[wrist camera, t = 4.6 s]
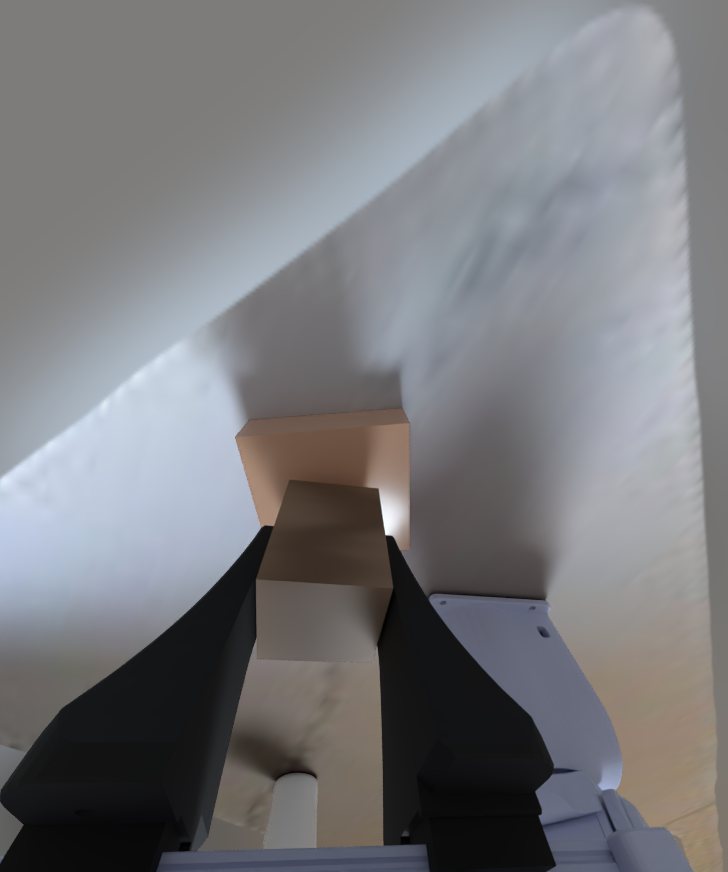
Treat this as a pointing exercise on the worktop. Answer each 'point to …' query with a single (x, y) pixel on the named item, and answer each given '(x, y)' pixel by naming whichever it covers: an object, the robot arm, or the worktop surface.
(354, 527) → the walnut block
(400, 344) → the worktop surface
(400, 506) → the terracotta tile
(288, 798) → the drinking glass
